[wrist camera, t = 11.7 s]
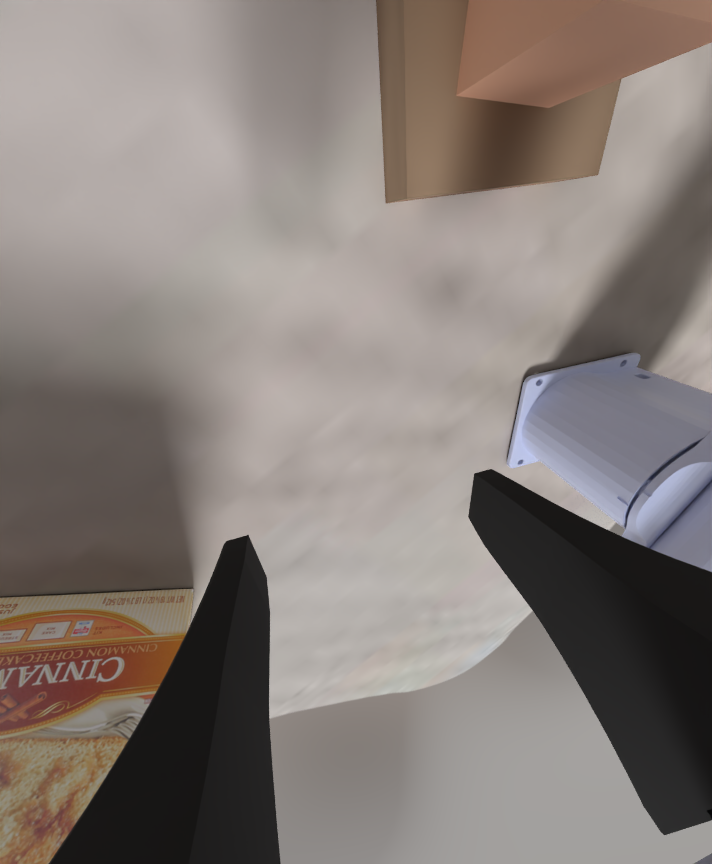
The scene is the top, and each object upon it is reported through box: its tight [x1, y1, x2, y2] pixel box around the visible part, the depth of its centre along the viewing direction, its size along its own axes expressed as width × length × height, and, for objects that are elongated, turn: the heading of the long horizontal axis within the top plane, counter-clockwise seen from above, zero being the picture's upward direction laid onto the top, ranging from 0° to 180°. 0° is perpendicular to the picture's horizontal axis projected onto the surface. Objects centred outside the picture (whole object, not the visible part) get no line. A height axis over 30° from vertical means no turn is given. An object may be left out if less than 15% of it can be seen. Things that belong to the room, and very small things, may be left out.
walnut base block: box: [376, 0, 621, 203], centre depth 12 cm, size 9×9×3 cm
